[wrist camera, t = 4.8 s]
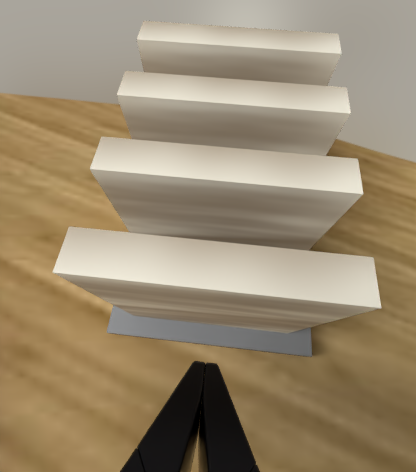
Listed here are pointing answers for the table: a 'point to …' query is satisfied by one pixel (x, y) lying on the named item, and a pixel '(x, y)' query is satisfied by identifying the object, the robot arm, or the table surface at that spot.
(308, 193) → the domino
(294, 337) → the board
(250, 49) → the domino
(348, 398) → the table surface
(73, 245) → the domino
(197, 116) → the domino
